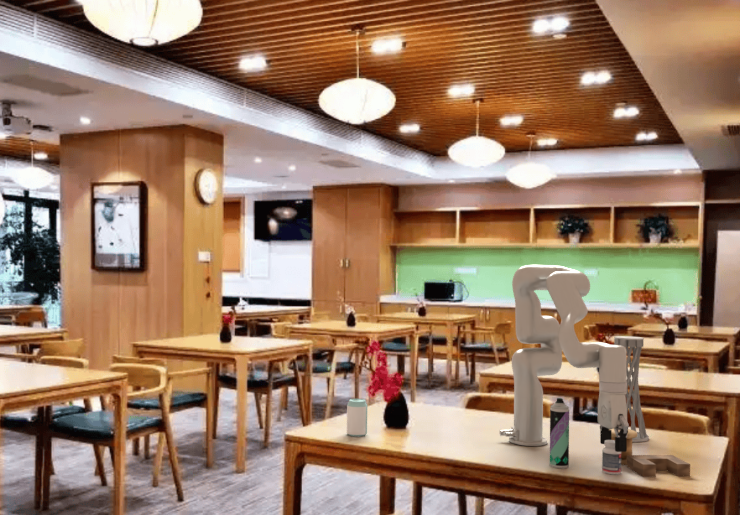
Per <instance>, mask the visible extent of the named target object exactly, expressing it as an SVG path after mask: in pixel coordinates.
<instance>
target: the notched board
mask: <svg viewBox="0 0 740 515" xmlns="http://www.w3.org/2000/svg"><path fill="white" fill-rule="evenodd" d="M626 468H628V469H630V470H631V471H632V472H634V473H636V474H637V475H639V476H640V477H643V478H651V477H652V478H653V477H654V478H656V475H657V473H656V472H659V471H660V472H661V471H664V472H665V471H667V472H668V473H670V474H672V475H673V476H676V477H684V478H685V477H691V463H689V462H687V461H685V460H683V459H681V458H679V457H677V456H674V455H673V454H638V455H637V454H632V455H627V465H626Z"/></svg>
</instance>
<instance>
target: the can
mask: <svg viewBox="0 0 740 515" xmlns="http://www.w3.org/2000/svg"><path fill="white" fill-rule="evenodd" d="M367 433H368V404H367V401H366V399H364V398H350V399H349V400H348V402H347V405H346V434H347V435H348V436H350V437H365V435H366V434H367Z"/></svg>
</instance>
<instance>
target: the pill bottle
mask: <svg viewBox="0 0 740 515" xmlns="http://www.w3.org/2000/svg"><path fill="white" fill-rule="evenodd" d="M603 445H604V447H603V448H602V450H601V452H602V454H601V458H602V459H601V461H602V462H601V472H602V473H604V474H607V475H620V474H621V473H622V465H621V452H616V451H615V440H605V442H604V444H603Z"/></svg>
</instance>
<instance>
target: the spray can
mask: <svg viewBox="0 0 740 515" xmlns="http://www.w3.org/2000/svg"><path fill="white" fill-rule="evenodd" d="M549 410H550V411H549V412H550V413H549V466H550V467H551V468H555V469H567V468H569V465H570V462H569V460H570V453H569V452H570V451H569V450H570V445H569V444H570V407H569V406H568V405H567V404H566V403H565V402H564V399H563V397H557V398H556V401H555V402H554V403H553V404H552V405H550V409H549Z"/></svg>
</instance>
